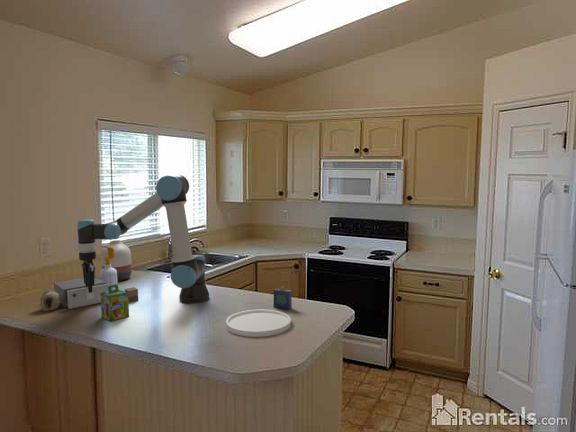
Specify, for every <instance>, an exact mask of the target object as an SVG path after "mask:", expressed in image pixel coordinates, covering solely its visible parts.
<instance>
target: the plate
mask: <svg viewBox="0 0 576 432" xmlns="http://www.w3.org/2000/svg"><path fill="white" fill-rule="evenodd" d="M291 326H292V318H291V316H289V315H288V314H287V313H285V312H283V311H278V310H274V309H265V308H264V309H260V308H259V309H248V310H243V311H238V312H236V313H233V314H231V315H229V316H228V317H227V318H226V320H225V328H226V329H227V331H229V332H230V333H231V334H235V335H238V336H242V337H251V338H255V337H257V338H258V337H268V336H274V335H279V334H281V333H283V332H286V331H288V329H290V328H291Z"/></svg>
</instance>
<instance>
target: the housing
mask: <svg viewBox="0 0 576 432" xmlns="http://www.w3.org/2000/svg"><path fill="white" fill-rule="evenodd" d="M103 284H106V283H105V282H104V281H102V280H100V278H98V277H96V276H95V277H94V285H93V286H98V285H103ZM53 287H54V288H53V289H54V291H55V292H56V293H58V294H59V295H60V299H61V302H60V303H61V304H62V305H63V306H64V307H63V306H62V305H61V304H60V305H61V306H62V307H63V308H68V305H67V304H66V299H67V290H73V289H79V288H84V287H86V285H85V283H84V277H81V278H79V277H78V278H74V279H67V280H62V281H56V282H53ZM65 291H66V292H65Z"/></svg>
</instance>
